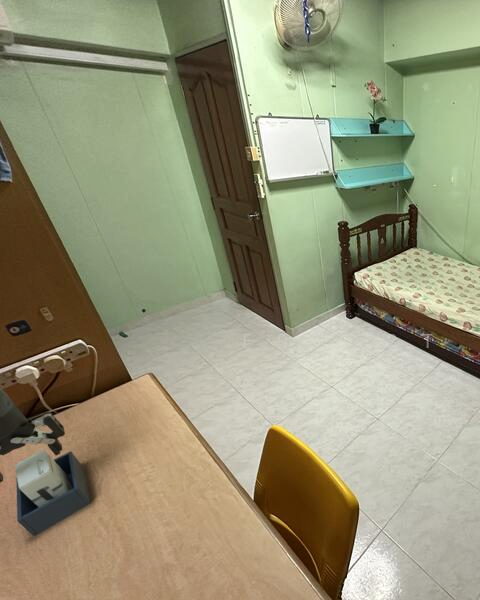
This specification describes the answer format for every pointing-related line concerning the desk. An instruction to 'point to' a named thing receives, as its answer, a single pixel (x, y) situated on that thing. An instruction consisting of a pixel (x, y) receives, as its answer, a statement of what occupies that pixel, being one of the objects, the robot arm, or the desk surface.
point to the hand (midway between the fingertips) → (30, 465)
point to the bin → (59, 507)
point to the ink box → (42, 478)
